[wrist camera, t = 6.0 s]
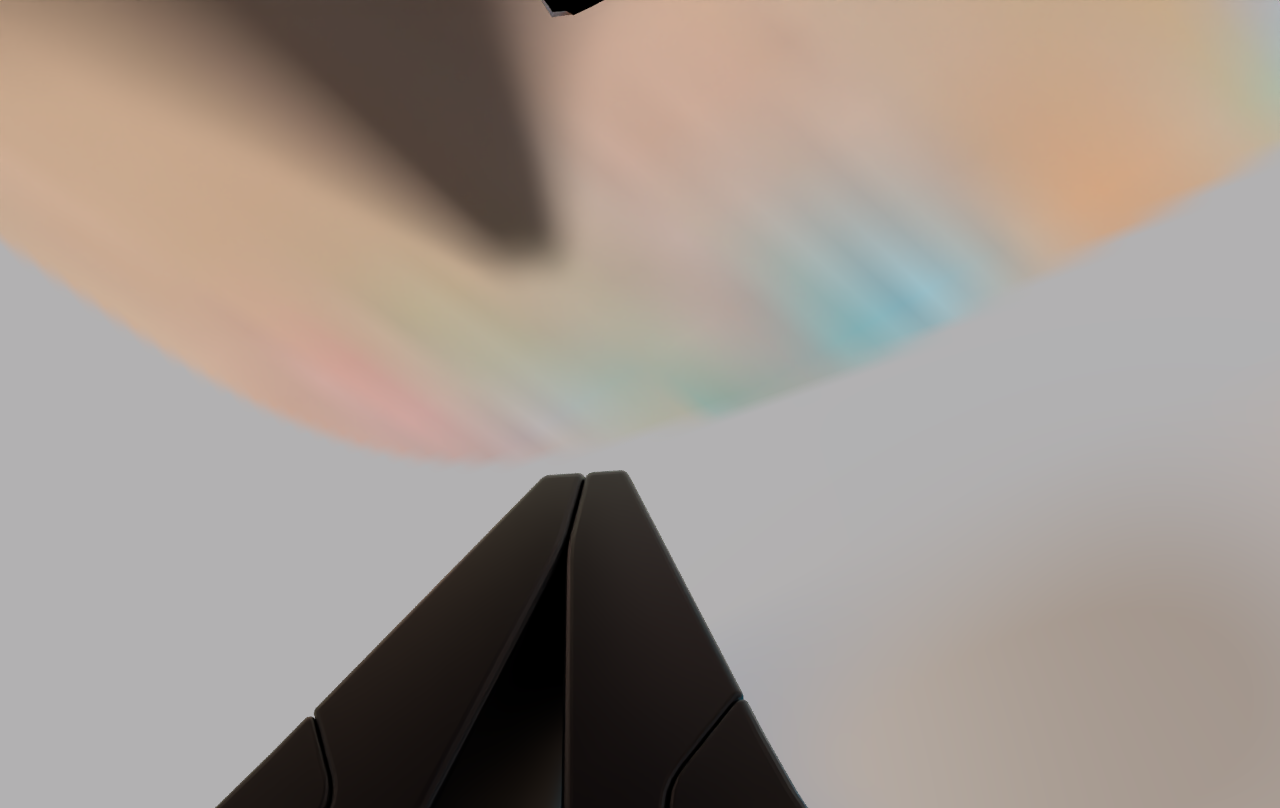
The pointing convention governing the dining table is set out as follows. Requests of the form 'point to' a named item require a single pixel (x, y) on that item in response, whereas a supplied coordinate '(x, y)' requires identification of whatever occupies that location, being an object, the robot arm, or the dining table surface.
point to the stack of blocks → (568, 6)
